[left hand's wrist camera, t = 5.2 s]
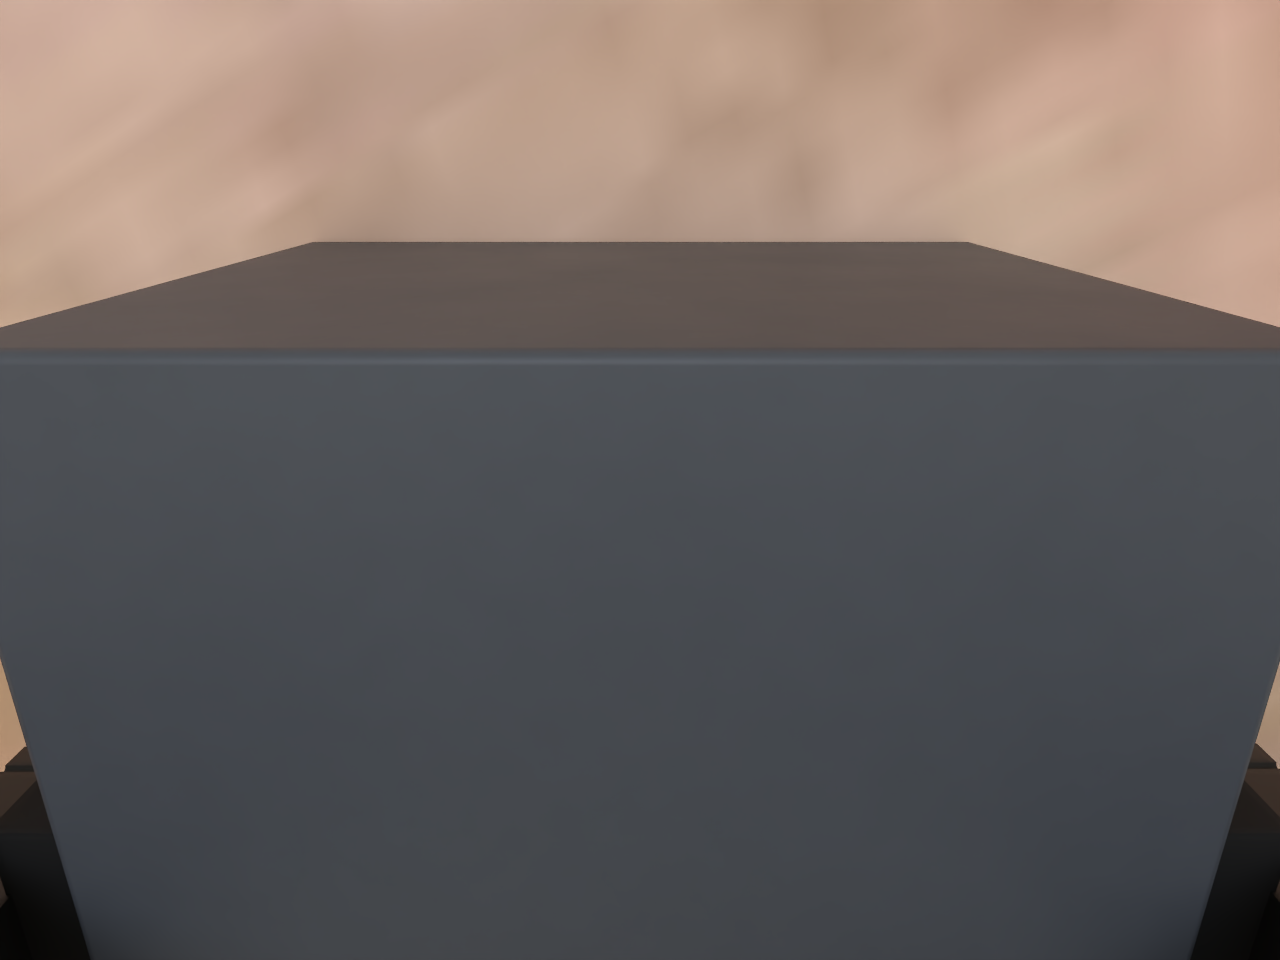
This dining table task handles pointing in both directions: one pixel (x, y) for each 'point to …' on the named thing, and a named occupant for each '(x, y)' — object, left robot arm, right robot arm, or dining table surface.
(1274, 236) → the dining table surface
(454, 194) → the dining table surface
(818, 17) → the dining table surface
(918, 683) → the thick board
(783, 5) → the dining table surface
